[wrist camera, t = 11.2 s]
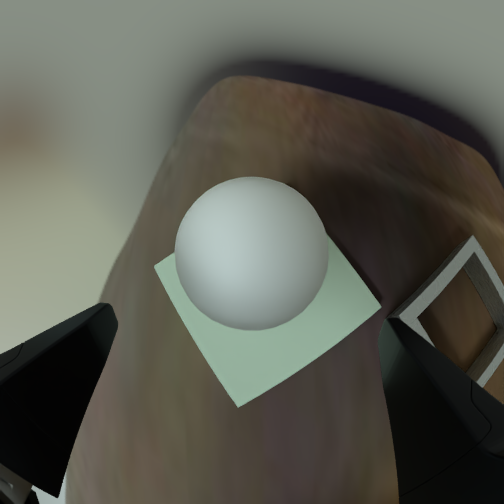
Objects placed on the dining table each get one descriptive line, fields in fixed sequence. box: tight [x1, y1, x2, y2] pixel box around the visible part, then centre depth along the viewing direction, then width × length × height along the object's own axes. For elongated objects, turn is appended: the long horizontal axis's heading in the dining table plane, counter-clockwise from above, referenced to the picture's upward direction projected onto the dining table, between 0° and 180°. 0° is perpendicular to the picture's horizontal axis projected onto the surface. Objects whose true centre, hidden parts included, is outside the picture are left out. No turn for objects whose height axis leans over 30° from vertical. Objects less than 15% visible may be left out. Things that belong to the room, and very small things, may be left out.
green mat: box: [154, 234, 381, 407], centre depth 19 cm, size 12×12×1 cm
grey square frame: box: [387, 235, 504, 388], centre depth 15 cm, size 10×10×2 cm
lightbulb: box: [175, 177, 329, 331], centre depth 13 cm, size 6×6×11 cm
